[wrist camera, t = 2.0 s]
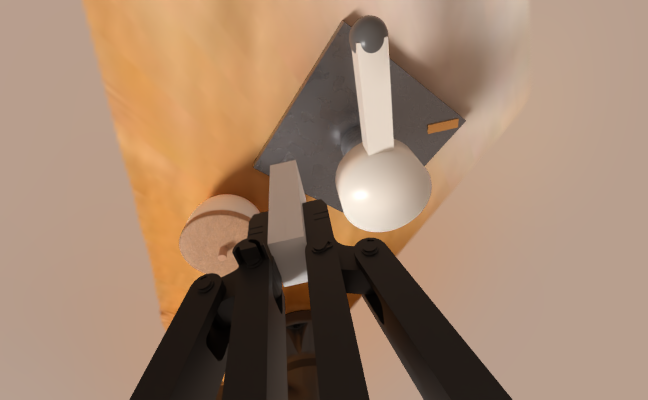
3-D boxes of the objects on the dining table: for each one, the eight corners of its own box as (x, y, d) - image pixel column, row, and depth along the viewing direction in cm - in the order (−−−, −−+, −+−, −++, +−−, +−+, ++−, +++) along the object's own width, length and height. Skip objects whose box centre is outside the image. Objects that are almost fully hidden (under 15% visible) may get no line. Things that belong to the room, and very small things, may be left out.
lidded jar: (185, 230, 47) (168, 278, 40) (201, 171, 42) (184, 213, 34) (255, 246, 51) (252, 293, 43) (278, 193, 46) (278, 236, 38)
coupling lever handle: (417, 200, 37) (430, 221, 34) (341, 217, 37) (348, 240, 34) (415, 1, 25) (436, 4, 22) (305, 25, 25) (310, 32, 22)
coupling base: (367, 219, 50) (384, 263, 43) (253, 162, 42) (249, 202, 34) (460, 116, 42) (502, 147, 34) (342, 20, 34) (361, 31, 26)
